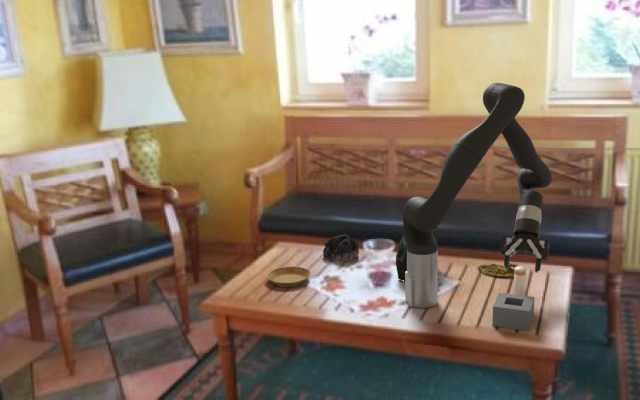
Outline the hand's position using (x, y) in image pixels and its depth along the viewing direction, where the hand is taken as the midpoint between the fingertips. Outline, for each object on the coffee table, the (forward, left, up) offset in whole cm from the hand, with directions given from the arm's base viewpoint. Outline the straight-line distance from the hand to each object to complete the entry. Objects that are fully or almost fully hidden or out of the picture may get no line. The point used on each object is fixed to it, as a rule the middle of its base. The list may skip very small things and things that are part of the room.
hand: (521, 270), depth 201 cm
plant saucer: (-67, +36, -10) cm, 77 cm away
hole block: (-8, -12, -10) cm, 18 cm away
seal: (+3, +23, -11) cm, 25 cm away
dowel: (-2, -3, -10) cm, 11 cm away
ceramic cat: (-23, +30, -10) cm, 39 cm away
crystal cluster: (-45, +53, -10) cm, 71 cm away
